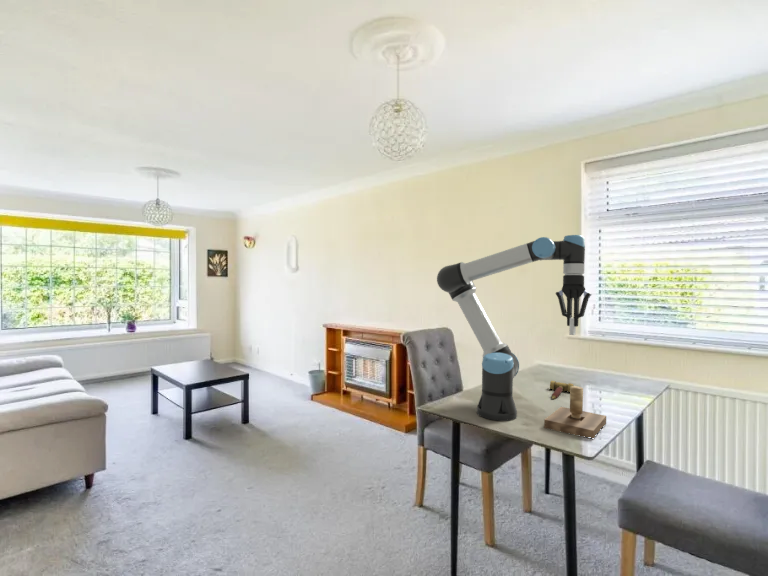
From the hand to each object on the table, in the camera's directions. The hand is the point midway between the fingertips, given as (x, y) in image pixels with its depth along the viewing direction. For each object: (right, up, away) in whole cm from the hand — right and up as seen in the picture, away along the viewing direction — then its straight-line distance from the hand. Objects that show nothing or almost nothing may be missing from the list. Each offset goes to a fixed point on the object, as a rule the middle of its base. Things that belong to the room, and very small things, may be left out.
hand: (572, 334), depth 157 cm
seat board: (-4, -32, -11) cm, 34 cm away
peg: (-4, -32, -11) cm, 34 cm away
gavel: (+7, -32, +30) cm, 45 cm away
